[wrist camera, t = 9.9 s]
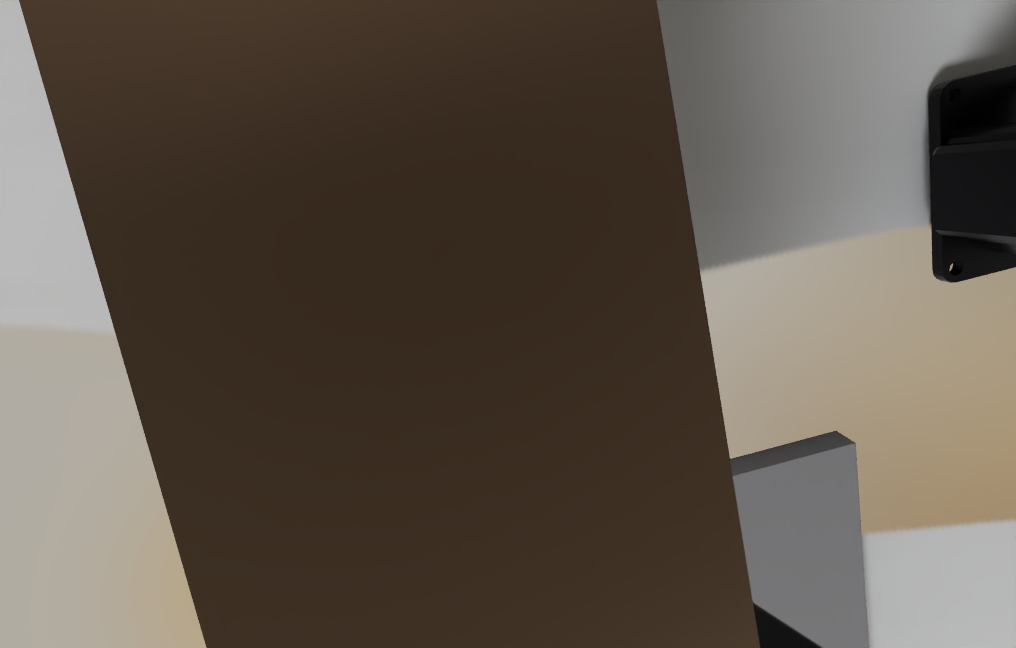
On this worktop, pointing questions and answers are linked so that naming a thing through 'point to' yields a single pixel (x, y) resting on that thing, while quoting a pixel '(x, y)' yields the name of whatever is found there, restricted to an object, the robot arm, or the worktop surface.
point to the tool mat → (805, 537)
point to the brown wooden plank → (408, 316)
